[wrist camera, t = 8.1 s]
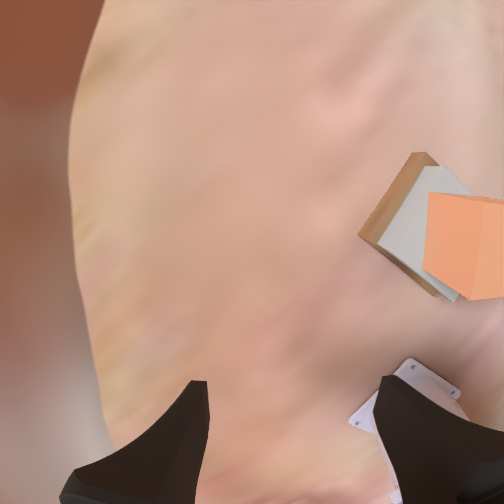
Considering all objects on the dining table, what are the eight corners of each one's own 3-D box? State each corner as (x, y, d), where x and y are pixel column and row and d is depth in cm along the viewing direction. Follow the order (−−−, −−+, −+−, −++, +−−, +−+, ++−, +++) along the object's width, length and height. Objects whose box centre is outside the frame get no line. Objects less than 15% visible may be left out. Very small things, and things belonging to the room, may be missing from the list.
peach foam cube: (483, 196, 16) (538, 208, 11) (475, 266, 17) (525, 293, 12) (428, 191, 16) (483, 202, 11) (421, 268, 17) (470, 300, 12)
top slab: (478, 219, 18) (499, 225, 16) (435, 289, 20) (453, 303, 17) (424, 166, 18) (445, 166, 15) (376, 243, 19) (392, 253, 16)
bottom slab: (466, 212, 21) (485, 217, 18) (418, 284, 22) (434, 296, 20) (408, 153, 20) (425, 152, 17) (354, 232, 21) (367, 240, 19)
